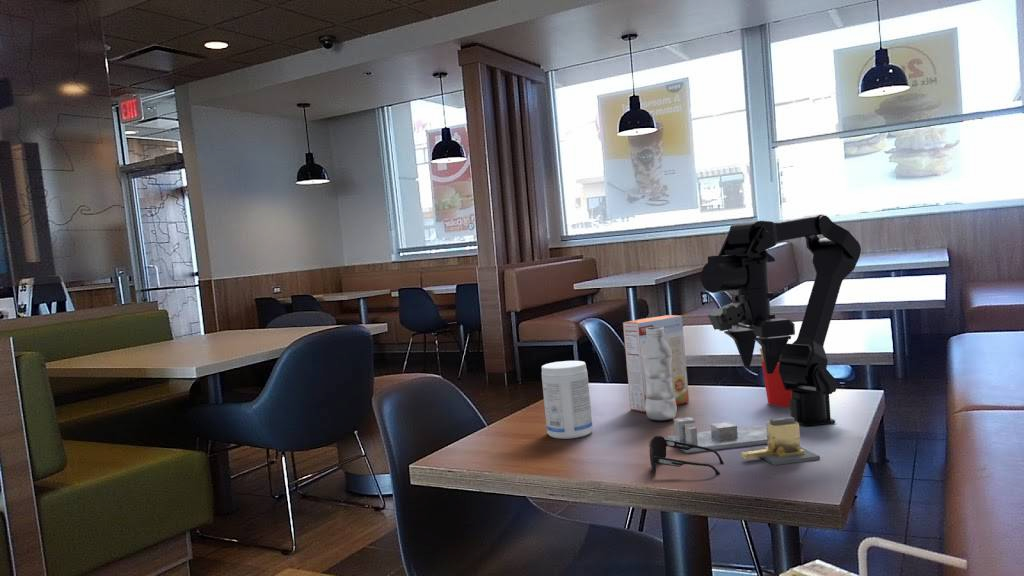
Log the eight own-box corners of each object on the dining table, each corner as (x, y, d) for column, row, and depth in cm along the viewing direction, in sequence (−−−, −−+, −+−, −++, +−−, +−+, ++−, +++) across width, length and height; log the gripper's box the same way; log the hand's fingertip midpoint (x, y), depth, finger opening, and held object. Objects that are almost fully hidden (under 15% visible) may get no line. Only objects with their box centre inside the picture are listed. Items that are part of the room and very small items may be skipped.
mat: (794, 447, 125) (794, 444, 125) (819, 459, 118) (819, 455, 117) (751, 452, 124) (751, 449, 124) (774, 465, 117) (774, 461, 116)
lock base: (760, 429, 139) (758, 404, 139) (785, 441, 129) (784, 415, 129) (667, 439, 137) (665, 414, 137) (686, 453, 127) (684, 426, 127)
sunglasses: (655, 458, 126) (656, 430, 126) (724, 469, 122) (726, 440, 121) (642, 476, 117) (644, 447, 116) (717, 489, 112) (719, 458, 112)
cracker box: (671, 399, 173) (665, 314, 172) (690, 402, 168) (683, 315, 167) (628, 410, 166) (621, 321, 165) (646, 413, 161) (639, 321, 160)
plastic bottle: (678, 422, 150) (671, 328, 149) (645, 423, 151) (638, 330, 150) (677, 415, 156) (670, 325, 155) (646, 416, 157) (639, 327, 157)
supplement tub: (589, 426, 153) (584, 358, 152) (596, 437, 143) (590, 365, 143) (544, 430, 152) (539, 362, 152) (548, 441, 143) (542, 369, 142)
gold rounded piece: (789, 446, 124) (787, 414, 124) (807, 454, 119) (804, 420, 119) (736, 454, 122) (733, 420, 122) (751, 462, 117) (749, 427, 117)
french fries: (807, 404, 157) (803, 346, 156) (797, 408, 154) (793, 348, 154) (769, 400, 164) (766, 344, 163) (759, 403, 161) (755, 346, 161)
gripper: (692, 290, 142) (698, 367, 143) (733, 293, 124) (739, 382, 124) (745, 285, 144) (750, 361, 144) (793, 288, 125) (799, 375, 126)
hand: (758, 369), depth 135 cm, fingers open, 9 cm apart
